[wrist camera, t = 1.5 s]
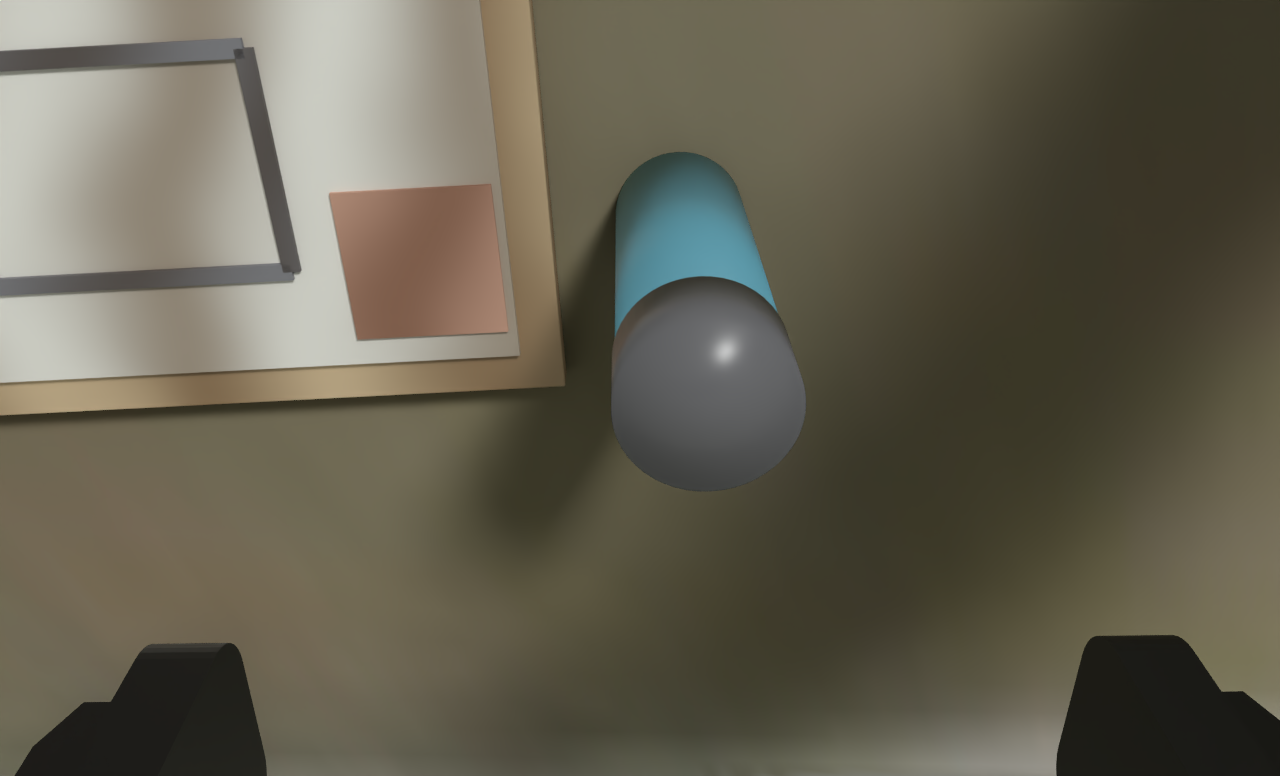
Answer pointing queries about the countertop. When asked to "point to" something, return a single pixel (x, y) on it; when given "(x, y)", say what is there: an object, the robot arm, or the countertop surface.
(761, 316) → the marker
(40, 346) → the board
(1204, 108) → the countertop surface
